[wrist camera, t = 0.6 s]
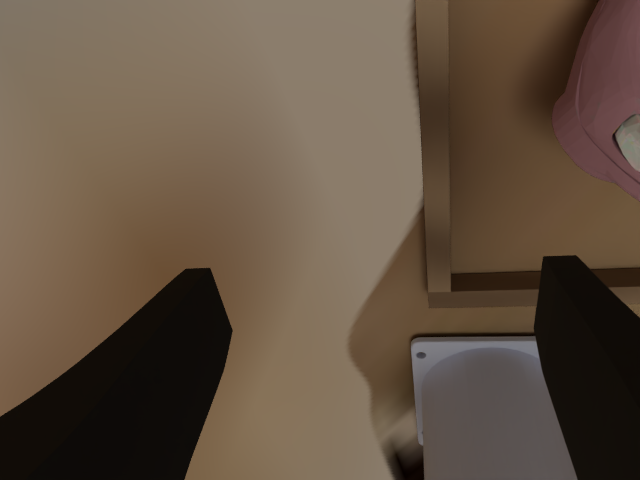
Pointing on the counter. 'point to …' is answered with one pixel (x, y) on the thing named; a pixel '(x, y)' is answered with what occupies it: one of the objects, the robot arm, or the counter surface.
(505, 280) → the shallow wooden tray
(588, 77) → the video game controller
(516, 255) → the counter surface
